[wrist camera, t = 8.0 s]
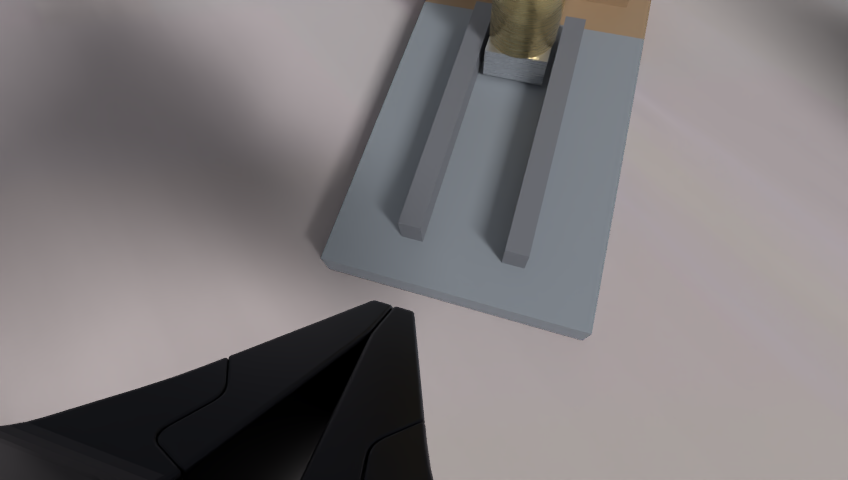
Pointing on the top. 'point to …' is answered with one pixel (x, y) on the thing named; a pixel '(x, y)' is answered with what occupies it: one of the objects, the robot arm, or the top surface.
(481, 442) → the top surface
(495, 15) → the brass ball knob
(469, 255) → the grey railed plate
